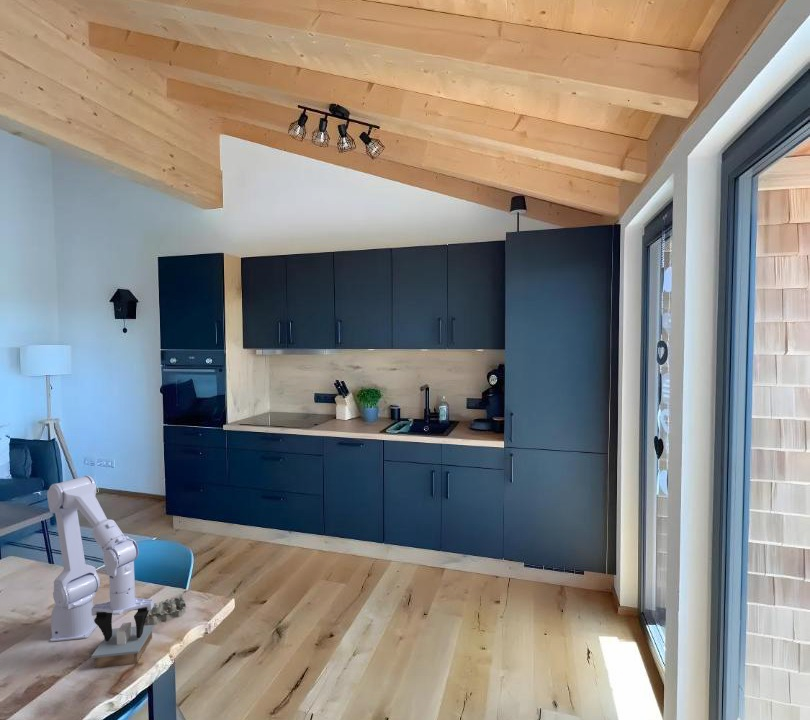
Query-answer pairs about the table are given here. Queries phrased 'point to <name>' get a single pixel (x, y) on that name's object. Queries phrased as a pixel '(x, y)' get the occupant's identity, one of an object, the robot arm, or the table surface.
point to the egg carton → (170, 605)
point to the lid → (123, 641)
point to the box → (122, 657)
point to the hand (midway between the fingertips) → (124, 637)
